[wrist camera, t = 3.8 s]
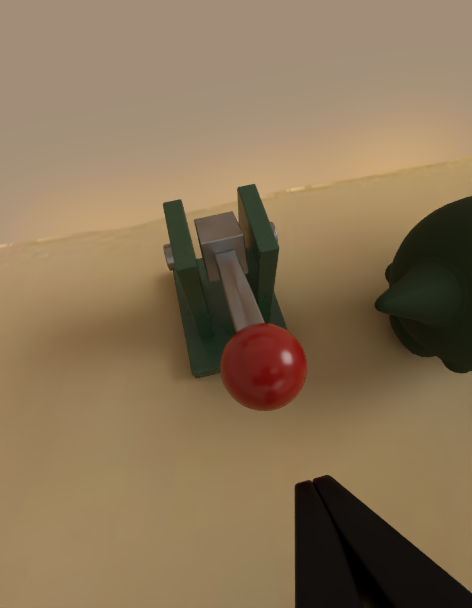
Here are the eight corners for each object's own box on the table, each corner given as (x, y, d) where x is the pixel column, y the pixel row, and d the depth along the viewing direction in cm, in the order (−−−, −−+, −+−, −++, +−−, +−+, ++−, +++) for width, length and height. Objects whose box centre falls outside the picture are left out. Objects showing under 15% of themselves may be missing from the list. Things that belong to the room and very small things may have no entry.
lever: (319, 415, 11) (323, 360, 10) (236, 437, 11) (222, 386, 9) (244, 250, 20) (238, 204, 18) (196, 261, 20) (185, 215, 18)
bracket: (292, 354, 23) (317, 283, 15) (195, 379, 23) (160, 320, 14) (257, 254, 27) (261, 151, 19) (174, 272, 27) (138, 176, 18)
